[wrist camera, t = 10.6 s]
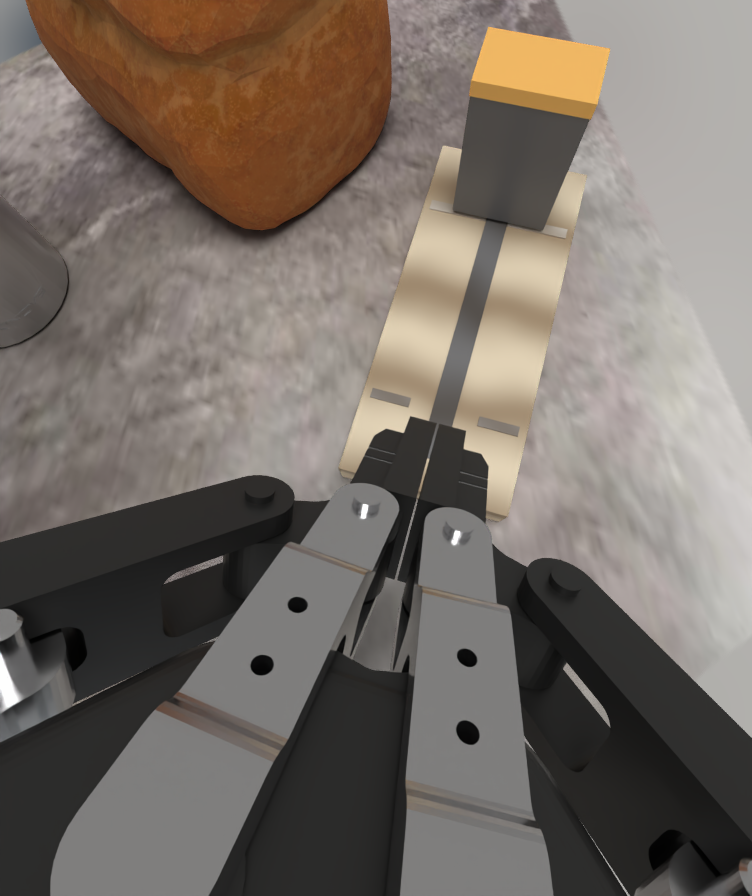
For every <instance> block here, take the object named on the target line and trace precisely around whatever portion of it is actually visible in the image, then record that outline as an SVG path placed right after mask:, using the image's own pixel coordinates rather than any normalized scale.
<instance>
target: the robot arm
mask: <svg viewBox="0 0 752 896" xmlns="http://www.w3.org/2000/svg"><path fill="white" fill-rule="evenodd" d="M67 284H68V277H67V269H66V266H65V263H64V260H63V258H62V257H61V256H60V254H59V253H58V251H57V250H56V249H55V248H54V247H53V246H52V245H51V244H50V243H49V242H48V241H47V240H46V239H45V238H44V237H43V236H42V235H41V234H40V233H39V232H38V231H37V230H35V229H34V228H33V227H32V226H31V225H30V224H29V223H28V222H27V221H26V220H25V219H24V218H23V217H22V216H21V215H20V214H19V213H18V212H17V211H16V209H15V208H13V207H12V206H11V205H10V204H9V203H8V202H7V201H6V200H5V199H4V198H3V197H2V196H1V195H0V347H6V346H10V345H13V344H16V343H19V342H21V341H23V340H25V339H27V338H29V337H31V336H33V335H34V334H35V333H37V332H38V331H39V330H41V329H42V328H44V327H45V325H46V324H47V323H48V322H49V321H50V320H51V319H52V318H53V317H54V316H55V314H56V312H57V311H58V309H59V308H60V306H61V304H62V302H63V299H64V297H65V294H66V289H67ZM436 424H437V423H435V422H431V421H427V420H424V419H420V418H416V417H412V416H410V418H409V421H408V423H407V426H406V428H405V431H404V433H401V432H398V431H394V430H390V429H384V430H383V431H381V432H379V433H378V434H376V435H374V437H373V439H372V441H371V443H370V445H369V448H368V449H367V451H366V453H365V455H364V457H363V459H362V461H361V463H360V465H359V467H358V469H357V471H356V473H355V475H354V477H353V479H352V481H351V483H350V484H348V485H345V486H343V487H341V488H340V489H338V490H337V491H336V492H335V494H334V495H333V497H332V498H331V500H327V501H320V502H310V501H294V498H295V497H294V492H293V490H292V489H291V488H290V486H289V485H287V484H286V483H285V482H283V481H281V480H279V479H277V478H274V477H269V476H262V475H253V476H246V477H242V478H238V479H235V480H231V481H227V482H223V483H220V484H216V485H212V486H209V487H205V488H201V489H197V490H194V491H190V492H186V493H183V494H179V495H175V496H171V497H168V498H164V499H160V500H156V501H153V502H149V503H145V504H142V505H138V506H134V507H130V508H127V509H123V510H119V511H116V512H112V513H108V514H104V515H101V516H97V517H93V518H90V519H86V520H82V521H78V522H75V523H71V524H67V525H64V526H60V527H56V528H52V529H49V530H45V531H41V532H37V533H34V534H30V535H26V536H23V537H19V538H15V539H11V540H8V541H4V542H0V896H627V894H626V893H625V891H624V890H623V888H622V886H621V885H620V883H619V882H618V880H617V878H616V877H615V875H614V874H613V872H612V871H611V869H610V867H609V866H608V864H607V863H606V861H605V859H604V858H603V856H604V857H605V858H606V860H607V862H608V863H609V865H610V866H611V867H612V869H613V871H614V872H615V874H616V875H617V877H618V878H619V880H620V881H621V883H622V884H623V886H624V887H625V889H626V890H627V892H628V893H629V894H630V896H752V738H751V737H750V736H749V735H748V734H747V733H746V732H745V731H744V730H743V729H742V728H741V727H740V726H739V725H738V724H737V723H736V722H735V721H734V720H733V719H732V718H731V717H730V716H729V715H728V714H727V713H726V712H725V711H724V710H723V709H722V708H721V707H720V706H719V705H718V704H717V703H716V702H715V701H714V700H713V699H712V698H711V697H710V696H709V695H707V693H706V692H705V691H704V690H703V689H702V688H701V687H700V686H698V684H697V683H696V682H695V681H694V680H693V679H692V678H691V677H690V676H689V675H688V674H687V673H686V672H685V671H684V670H683V669H682V668H681V667H680V666H678V665H677V664H676V663H675V662H674V661H673V660H672V659H671V658H670V657H669V656H668V655H667V654H666V653H665V652H664V651H663V650H662V649H661V648H660V647H659V646H658V645H657V644H656V643H655V642H654V641H653V640H652V639H651V638H650V637H649V636H648V635H647V634H646V633H645V632H644V631H643V630H642V629H641V628H640V627H639V626H638V625H637V624H636V623H635V622H634V621H633V620H632V619H631V618H630V617H629V616H628V615H627V614H626V613H625V612H624V611H623V610H622V609H621V608H620V607H619V606H618V605H617V604H616V603H615V602H614V601H613V600H612V599H611V598H610V597H609V596H608V595H607V594H606V593H605V592H604V591H603V590H602V589H601V588H600V587H599V586H598V585H597V584H596V583H595V582H594V581H593V580H592V579H591V578H590V577H589V576H588V575H586V574H585V573H584V572H583V571H581V570H580V569H578V568H577V567H575V566H573V565H571V564H569V563H567V562H564V561H561V560H558V559H552V558H541V559H537V560H535V561H533V562H531V563H530V565H529V566H528V567H526V566H524V565H522V564H520V563H518V562H517V561H515V560H513V559H511V558H509V557H508V556H506V555H505V554H503V553H502V552H501V551H499V550H498V549H497V548H496V547H495V546H494V545H493V544H492V536H491V532H490V530H489V528H488V527H487V525H486V524H485V523H486V505H487V487H488V469H489V466H488V464H487V463H486V461H485V459H484V458H483V456H482V454H480V453H477V452H473V451H469V450H465V449H464V442H465V435H466V430H462V429H458V428H454V427H451V426H447V425H443V424H439V426H438V430H437V433H436V437H435V441H434V444H433V448H432V452H431V455H430V459H429V463H428V466H427V470H426V473H425V477H424V481H423V484H422V488H421V492H420V496H419V499H418V503H417V507H416V511H415V515H414V518H413V522H412V526H411V530H410V534H409V537H408V541H407V545H406V549H405V552H404V556H403V560H402V564H401V568H400V571H399V575H398V579H397V580H398V581H402V582H405V583H406V585H405V589H404V593H403V597H402V600H401V604H400V607H399V611H398V616H397V623H396V630H395V637H394V644H393V651H392V658H391V665H390V672H387V671H375V670H371V669H368V668H366V667H364V666H362V665H360V664H359V663H357V662H355V661H354V660H353V658H354V655H355V653H356V650H357V648H358V645H359V643H360V640H361V638H362V636H363V633H364V631H365V628H366V626H367V623H368V621H369V618H370V616H371V613H372V611H373V609H374V606H375V603H376V599H377V596H378V595H379V593H380V592H381V590H382V588H383V585H384V581H385V578H386V577H388V578H391V579H395V575H396V571H397V568H398V564H399V560H400V557H401V553H402V549H403V546H404V542H405V538H406V535H407V531H408V527H409V524H410V520H411V516H412V513H413V509H414V505H415V502H416V498H417V494H418V491H419V487H420V483H421V480H422V476H423V472H424V469H425V465H426V461H427V457H428V454H429V450H430V446H431V443H432V439H433V435H434V432H435V428H436ZM222 555H223V563H220V564H217V565H215V566H212V567H209V568H207V569H204V570H201V571H198V572H196V573H193V574H190V575H188V576H185V577H182V578H180V579H177V580H174V581H172V582H169V583H166V584H164V582H165V581H166V580H167V579H168V578H169V577H170V576H172V575H173V574H175V573H176V572H178V571H181V570H183V569H186V568H189V567H192V566H194V565H197V564H200V563H203V562H206V561H208V560H211V559H214V558H217V557H219V556H222ZM218 636H219V637H218ZM215 637H218V638H217V640H216V641H212V642H209V643H205V642H207V641H209V640H211V639H213V638H215ZM202 643H205V644H202ZM200 644H201V645H200ZM198 645H199V646H198ZM566 663H568V664H569V665H570V667H571V668H572V669H573V670H574V672H575V673H576V674H577V675H578V676H579V678H580V679H581V680H582V681H583V683H584V684H585V685H586V686H587V687H588V689H589V690H590V691H591V692H592V694H593V695H594V696H595V697H596V698H597V700H598V701H599V702H600V703H601V705H602V706H603V708H604V709H605V711H606V713H607V715H608V718H609V721H610V727H609V726H608V725H607V723H606V722H605V721H604V720H603V718H602V717H601V716H600V715H599V713H598V712H597V711H596V710H595V709H594V707H593V706H592V705H591V704H590V702H589V701H588V700H587V699H586V697H585V696H584V695H583V694H582V692H581V691H580V690H579V689H578V687H577V686H576V685H575V684H574V682H573V681H572V680H571V679H570V677H569V676H568V675H567V674H566V672H565V671H564V670H563V668H564V666H565V664H566ZM148 668H149V669H148ZM146 669H147V670H146ZM144 670H145V671H144ZM142 671H143V672H142ZM140 672H141V673H140ZM138 673H139V674H138ZM136 674H137V675H136ZM133 675H135V676H133ZM131 676H133V677H131ZM129 677H131V678H129ZM127 678H129V679H127ZM125 679H127V680H125ZM123 680H125V681H123ZM120 681H123V682H121V683H119V684H117V685H115V686H113V687H111V688H109V689H107V690H105V691H103V692H101V693H99V694H97V695H95V696H93V697H91V698H89V699H87V700H85V701H83V702H81V703H79V704H77V705H75V706H73V707H72V704H73V703H75V702H77V701H79V700H82V699H84V698H86V697H88V696H90V695H92V694H95V693H97V692H99V691H101V690H103V689H105V688H107V687H110V686H112V685H114V684H116V683H118V682H120ZM524 736H525V738H526V739H527V741H528V742H529V744H530V745H531V747H532V748H533V750H534V751H535V752H534V751H533V750H532V749H531V748H530V747H529V746H528V745H527V743H526V742H525V741H524ZM581 822H582V823H581ZM583 825H584V826H583ZM585 828H586V829H585ZM586 830H587V831H588V832H587V831H586ZM588 833H589V834H590V835H589V834H588ZM590 836H591V837H592V839H593V840H594V842H595V843H596V845H597V846H598V848H599V849H600V851H601V852H602V854H603V856H602V855H601V853H600V851H599V850H598V848H597V847H596V845H595V843H594V842H593V840H592V839H591V837H590Z"/></svg>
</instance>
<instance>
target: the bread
mask: <svg viewBox="0 0 752 896" xmlns="http://www.w3.org/2000/svg"><path fill="white" fill-rule="evenodd" d="M26 3H27V6H28V10H29V12H30V16H31V18H32V20H33V23H34V25H35V28H36V30H37V33H38V35H39V38H40V40H41V41H42V43H43V45H44V46H45V48H46V49H47V51H48V52H49V54H50V55H51V56H52V58H53V59H54V61H55V62H56V63H57V65H58V66H59V68H60V69H61V70H62V72H63V73H64V75H65V76H66V77H67V79H68V80H69V81H70V83H71V84H72V85H73V86H74V87H75V88H76V89H77V91H78V92H79V93H80V94H81V95H82V96H83V98H84V99H85V100H86V101H87V102H88V103H89V104H90V105H91V106H92V107H93V108H94V109H95V110H96V111H97V112H98V113H99V114H100V115H101V116H102V117H103V118H104V119H105V120H106V121H107V122H109V123H111V124H112V125H114V126H116V127H117V128H118V129H119V130H120V131H121V132H122V133H123V134H124V135H126V136H127V137H128V138H129V139H131V140H132V141H133V142H134V143H136V144H137V145H138V146H140V148H141V149H142V150H143V151H144V152H145V153H146V154H147V155H149V156H150V157H152V158H153V159H155V160H156V161H157V162H159V163H161V164H163V165H165V166H166V167H168V168H170V169H172V171H173V173H174V174H175V176H176V177H177V178H178V180H179V181H180V182H181V183H182V184H183V185H184V187H185V188H186V189H187V190H188V191H189V192H190V193H191V194H192V195H193V196H194V197H195V198H196V199H198V200H199V201H200V202H201V203H203V204H204V205H206V206H207V207H209V208H210V209H212V210H213V211H215V212H216V213H218V214H219V215H221V216H222V217H224V218H225V219H227V220H228V221H230V222H232V223H234V224H236V225H238V226H240V227H242V228H244V229H254V230H266V229H272V228H276V227H277V226H279V225H280V224H282V223H283V222H285V221H287V220H289V219H291V218H293V217H295V216H297V215H299V214H301V213H303V212H305V211H306V210H308V209H309V208H310V207H312V206H313V205H314V204H316V203H317V202H318V201H319V200H321V199H322V198H323V197H324V196H325V195H326V194H327V193H328V192H329V191H330V190H331V189H332V188H333V187H334V186H335V185H336V184H337V183H339V182H340V181H341V180H342V179H343V178H344V177H346V176H347V175H348V174H349V173H350V172H352V171H353V170H354V169H355V168H356V167H357V166H358V165H359V164H360V162H361V161H362V160H363V159H364V157H365V156H366V155H367V154H368V152H369V151H370V150H371V148H372V147H373V146H374V145H375V143H376V141H377V139H378V137H379V135H380V133H381V131H382V128H383V125H384V122H385V119H386V116H387V113H388V109H389V104H390V100H391V79H392V73H391V35H390V25H389V15H388V5H387V0H26Z"/></svg>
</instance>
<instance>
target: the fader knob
mask: <svg viewBox="0 0 752 896" xmlns="http://www.w3.org/2000/svg"><path fill="white" fill-rule="evenodd" d="M609 52H610V49H609V48H604V47H598V46H592V45H587V44H581V43H576V42H570V41H565V40H559V39H553V38H548V37H542V36H536V35H531V34H525V33H520V32H514V31H508V30H503V29H497V28H492V27H488V30H487V33H486V37H485V40H484V43H483V46H482V49H481V52H480V55H479V58H478V61H477V65H476V68H475V71H474V74H473V77H472V80H471V86H470V93H469V96H470V100H469V107H468V113H467V120H466V126H465V133H464V139H463V146H462V152H461V159H460V165H459V172H458V178H457V185H456V191H455V198H454V204H453V211H458V212H462V213H467V214H471V215H476V216H481V217H485V218H490V219H494V220H499V221H503V222H508V223H512V224H517V225H521V226H526V227H530V228H535V229H539V230H543V229H544V227H545V224H546V222H547V220H548V217H549V215H550V212H551V210H552V208H553V205H554V203H555V201H556V198H557V196H558V193H559V191H560V189H561V186H562V184H563V182H564V179H565V177H566V174H567V172H568V170H569V167H570V165H571V162H572V160H573V158H574V155H575V153H576V151H577V148H578V146H579V143H580V141H581V139H582V136H583V134H584V132H585V129H586V127H587V124H588V122H589V120H591V118H592V116H593V113H594V111H595V108H596V106H597V103H598V99H599V95H600V91H601V86H602V82H603V78H604V73H605V69H606V65H607V61H608V56H609Z"/></svg>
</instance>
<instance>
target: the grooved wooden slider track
mask: <svg viewBox="0 0 752 896" xmlns="http://www.w3.org/2000/svg"><path fill="white" fill-rule="evenodd" d="M461 152H462V149H457V148H453V147H448V146H443V148H442V151H441V154H440V157H439V160H438V163H437V166H436V169H435V172H434V176H433V179H432V182H431V185H430V188H429V191H428V194H427V197H426V200H425V203H424V206H423V209H422V212H421V215H420V219H419V222H418V225H417V228H416V231H415V234H414V237H413V240H412V243H411V246H410V249H409V252H408V255H407V258H406V262H405V265H404V268H403V271H402V274H401V277H400V280H399V283H398V286H397V289H396V292H395V295H394V298H393V301H392V305H391V308H390V311H389V314H388V317H387V320H386V323H385V326H384V329H383V332H382V335H381V338H380V341H379V345H378V348H377V351H376V354H375V357H374V360H373V363H372V366H371V369H370V372H369V375H368V378H367V381H366V384H365V388H364V391H363V394H362V397H361V400H360V403H359V406H358V409H357V412H356V415H355V418H354V421H353V424H352V427H351V431H350V434H349V437H348V440H347V443H346V446H345V449H344V452H343V455H342V458H341V461H340V464H339V467H338V468H339V470H340V472H341V474H342V476H343V477H345V478H349V479H353V477H354V475H355V473H356V471H357V469H358V467H359V465H360V463H361V461H362V459H363V457H364V455H365V453H366V451H367V449H368V448H369V445H370V443H371V441H372V439H373V437H374V435H376V434H378V433H379V432H381V431H383V430H384V429H390V430H394V431H398V432H401V433H404V431H405V428H406V426H407V423H408V421H409V418H410V416H412V417H416V418H420V419H424V420H427V421H431V422H435V423H437V424H436V428H435V432H434V435H433V439H432V443H431V446H430V450H429V454H428V457H427V461H426V465H425V469H424V472H423V476H422V480H421V483H420V487H419V491H418V494H417V498H418V499H419V496H420V492H421V488H422V484H423V481H424V477H425V473H426V470H427V466H428V463H429V459H430V455H431V452H432V448H433V444H434V441H435V437H436V433H437V430H438V426H439V424H443V425H447V426H451V427H454V428H458V429H462V430H466V435H465V442H464V449H465V450H469V451H473V452H477V453H480V454H482V456H483V458H484V459H485V461H486V463H487V464H488V466H489V469H488V487H487V505H486V518H487V519H491V520H494V521H498V522H499V521H501V520H503V519H505V518H506V517H508V514H509V510H510V505H511V501H512V497H513V492H514V488H515V484H516V479H517V475H518V471H519V467H520V462H521V458H522V454H523V449H524V445H525V441H526V436H527V432H528V428H529V423H530V419H531V415H532V411H533V406H534V402H535V398H536V393H537V389H538V385H539V380H540V376H541V372H542V367H543V363H544V359H545V355H546V350H547V346H548V342H549V337H550V333H551V329H552V324H553V320H554V316H555V312H556V307H557V303H558V299H559V294H560V290H561V286H562V281H563V277H564V273H565V268H566V264H567V260H568V256H569V251H570V247H571V243H572V238H573V234H574V230H575V225H576V221H577V217H578V212H579V208H580V204H581V200H582V195H583V191H584V187H585V182H586V178H587V175H583V174H578V173H573V172H569V171H568V172H567V174H566V177H565V179H564V182H563V184H562V186H561V189H560V191H559V193H558V196H557V198H556V201H555V203H554V205H553V208H552V210H551V212H550V215H549V217H548V220H547V222H546V224H545V227H544V229H543V230H539V229H535V228H530V227H526V226H521V225H517V224H512V223H508V222H503V221H499V220H494V219H490V218H485V217H481V216H476V215H471V214H467V213H462V212H458V211H453V204H454V198H455V191H456V185H457V178H458V172H459V165H460V159H461Z"/></svg>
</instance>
